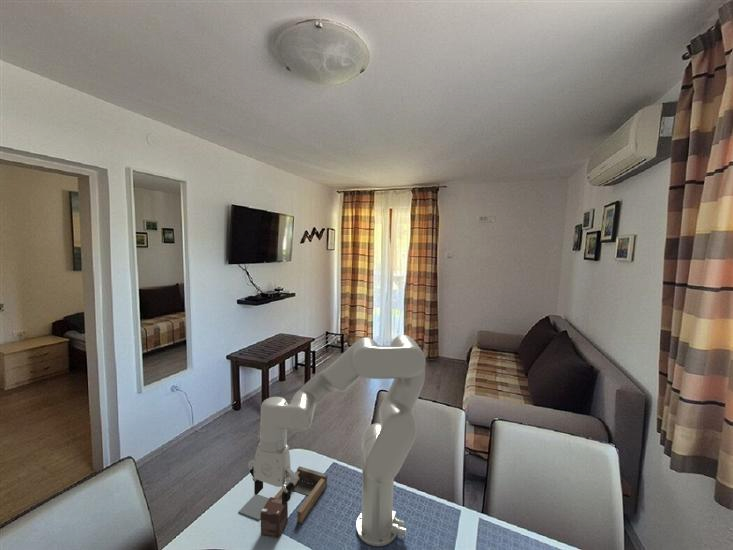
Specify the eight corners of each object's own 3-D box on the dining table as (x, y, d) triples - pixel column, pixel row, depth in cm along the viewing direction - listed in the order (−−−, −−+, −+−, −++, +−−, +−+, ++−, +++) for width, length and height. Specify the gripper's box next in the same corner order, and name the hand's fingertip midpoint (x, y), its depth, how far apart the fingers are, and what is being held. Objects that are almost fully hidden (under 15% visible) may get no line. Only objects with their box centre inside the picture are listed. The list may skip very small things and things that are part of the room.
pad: (275, 501, 104) (275, 500, 104) (259, 520, 97) (259, 519, 97) (255, 494, 107) (255, 493, 107) (238, 512, 100) (238, 511, 100)
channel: (327, 484, 112) (327, 474, 112) (301, 523, 96) (301, 511, 96) (299, 476, 116) (299, 466, 116) (270, 511, 100) (270, 500, 100)
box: (288, 521, 97) (288, 499, 96) (279, 539, 91) (279, 515, 90) (270, 518, 98) (270, 496, 97) (260, 535, 92) (259, 512, 91)
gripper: (240, 440, 90) (239, 496, 92) (291, 457, 84) (289, 516, 86) (258, 427, 97) (256, 479, 99) (306, 441, 91) (304, 496, 93)
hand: (272, 496), depth 92 cm, fingers open, 9 cm apart
